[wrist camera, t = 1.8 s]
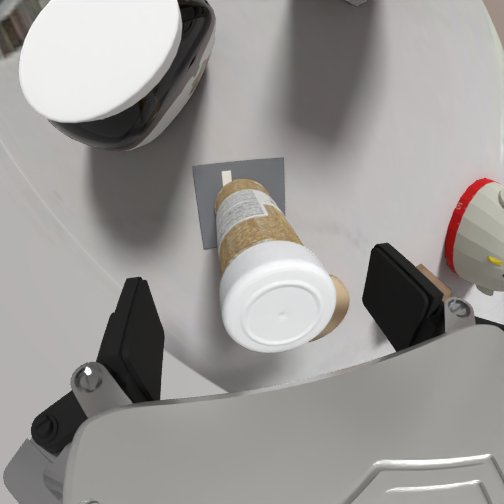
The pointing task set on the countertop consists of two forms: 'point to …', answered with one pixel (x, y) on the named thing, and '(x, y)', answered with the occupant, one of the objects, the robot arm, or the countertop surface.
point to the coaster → (336, 308)
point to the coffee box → (356, 2)
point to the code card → (219, 174)
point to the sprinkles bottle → (267, 273)
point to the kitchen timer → (478, 236)
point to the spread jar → (115, 66)
